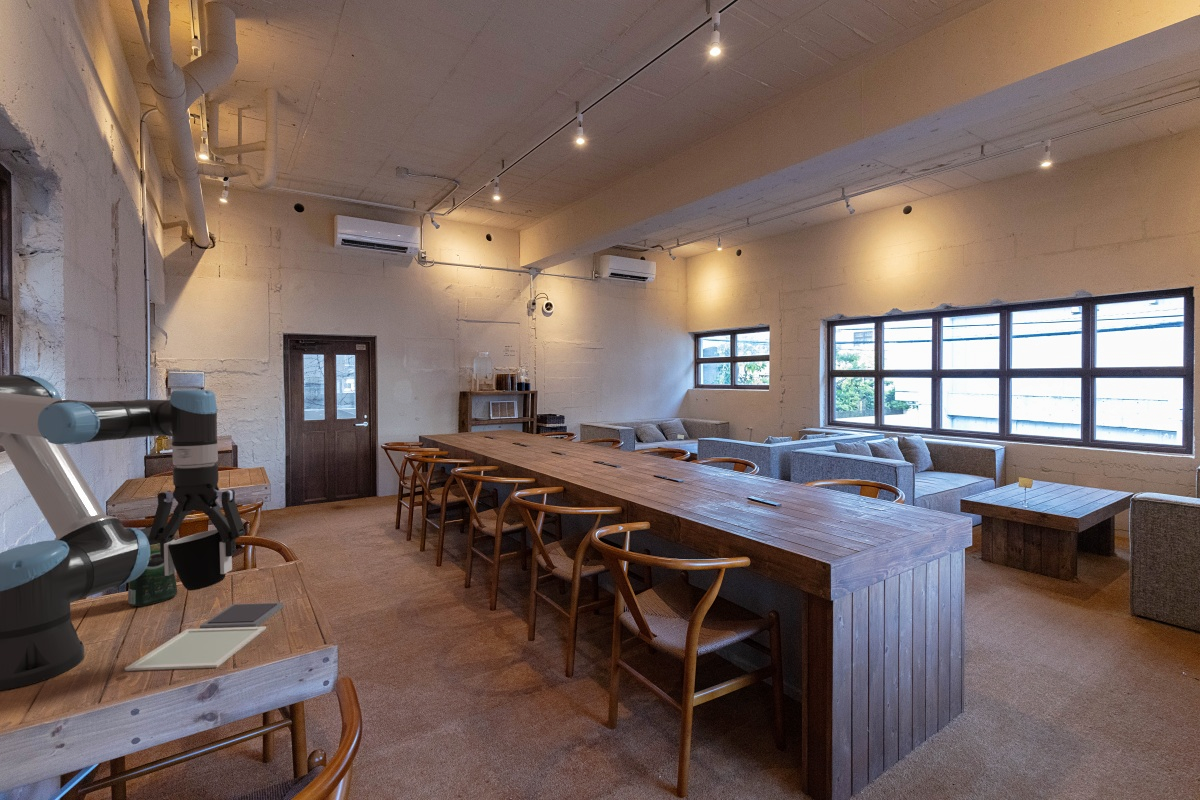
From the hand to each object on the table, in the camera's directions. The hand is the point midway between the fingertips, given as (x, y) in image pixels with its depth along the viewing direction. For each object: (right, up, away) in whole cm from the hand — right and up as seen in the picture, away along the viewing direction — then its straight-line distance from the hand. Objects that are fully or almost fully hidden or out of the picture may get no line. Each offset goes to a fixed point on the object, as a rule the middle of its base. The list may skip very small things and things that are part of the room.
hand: (199, 572), depth 114 cm
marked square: (0, -16, 0) cm, 16 cm away
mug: (0, -3, 0) cm, 3 cm away
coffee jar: (-31, -15, +27) cm, 44 cm away
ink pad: (0, -15, +15) cm, 21 cm away
